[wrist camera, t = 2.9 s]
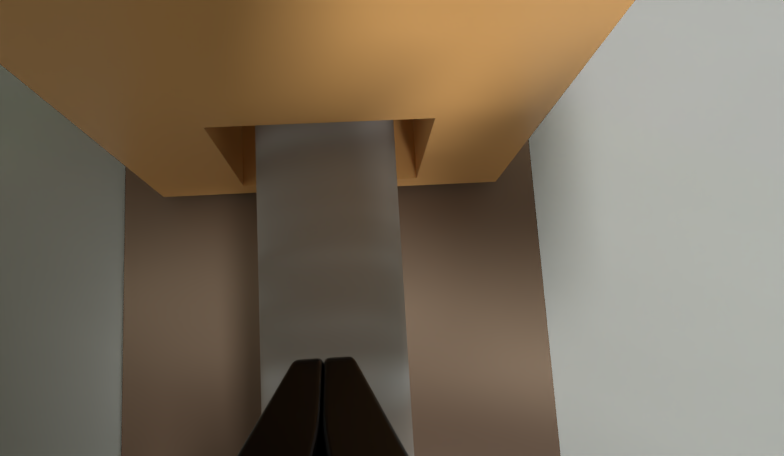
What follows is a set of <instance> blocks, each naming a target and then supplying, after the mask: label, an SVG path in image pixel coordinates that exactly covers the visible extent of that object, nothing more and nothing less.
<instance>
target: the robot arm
mask: <svg viewBox="0 0 784 456" xmlns="http://www.w3.org/2000/svg"><path fill="white" fill-rule="evenodd" d="M237 456H409V455H408V453H407V452H406V450H405V448H404V446H403V444H402V443H401V441H400V439H399V437H398V435H397V434H396V432H395V430H394V428H393V427H392V425H391V423H390V421H389V419H388V418H387V416H386V414H385V412H384V410H383V409H382V407H381V405H380V403H379V401H378V400H377V398H376V396H375V394H374V392H373V391H372V389H371V387H370V385H369V383H368V382H367V380H366V378H365V376H364V375H363V373H362V371H361V369H360V367H359V366H358V364H357V362H356V360H355V359H354V358H353V357H350V356H347V357H330V358H327V359H325V361H324V362H323V361H322V359H320V358H314V359H298V360H295V361H294V362H293V363H292V364H291V366H290V367H289V369H288V371H287V372H286V374H285V376H284V377H283V379H282V381H281V382H280V384H279V386H278V387H277V389H276V391H275V393H274V394H273V396H272V398H271V399H270V401H269V403H268V404H267V406H266V408H265V409H264V411H263V413H262V414H261V416H260V418H259V420H258V421H257V423H256V425H255V426H254V428H253V430H252V431H251V433H250V435H249V436H248V438H247V440H246V441H245V443H244V445H243V447H242V448H241V450H240V452H239V453H238V455H237Z"/></svg>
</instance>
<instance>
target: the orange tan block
mask: <svg viewBox="0 0 784 456" xmlns="http://www.w3.org/2000/svg"><path fill="white" fill-rule="evenodd" d="M634 1H635V0H0V64H1V65H2V66H3V67H4V68H6V69H7V70H8V71H9V72H11V73H12V74H13V75H14V76H15V77H17V78H18V79H19V80H20V81H22V82H23V83H24V84H25V85H26V86H28V87H29V88H30V89H31V90H33V91H34V92H35V93H36V94H38V95H39V96H40V97H41V98H42V99H44V100H45V101H46V102H47V103H49V104H50V105H51V106H52V107H53V108H55V109H56V110H57V111H58V112H60V113H61V114H62V115H63V116H65V117H66V118H67V119H68V120H69V121H71V122H72V123H73V124H74V125H76V126H77V127H78V128H79V129H81V130H82V131H83V132H84V133H85V134H87V135H88V136H89V137H90V138H92V139H93V140H94V141H95V142H96V143H98V144H99V145H100V146H101V147H103V148H104V149H105V150H106V151H108V152H109V153H110V154H111V155H112V156H114V157H115V158H116V159H117V160H119V161H120V162H121V163H122V164H124V165H125V166H126V167H127V168H128V169H130V170H131V171H132V172H133V173H135V174H136V175H137V176H138V177H139V178H141V179H142V180H143V181H144V182H146V183H147V184H148V185H149V186H151V187H152V188H153V189H154V190H155V191H157V192H158V193H159V194H160V195H162V196H163V197H176V196H198V195H219V194H241V193H257V192H256V147H255V126H256V125H280V124H305V123H329V122H354V121H379V120H393V124H394V140H395V156H396V172H397V186H414V185H436V184H457V183H479V182H496V181H497V179H498V178H499V177H500V175H501V174H502V173H503V171H504V170H505V169H506V168H507V166H508V165H509V164H510V162H511V161H512V160H513V158H514V157H515V156H516V155H517V153H518V152H519V151H520V149H521V148H522V147H523V145H524V144H525V143H526V142H527V140H528V139H529V138H530V136H531V135H532V134H533V132H534V131H535V130H536V128H537V127H538V126H539V125H540V123H541V122H542V121H543V119H544V118H545V117H546V115H547V114H548V113H549V112H550V110H551V109H552V108H553V106H554V105H555V104H556V102H557V101H558V100H559V99H560V97H561V96H562V95H563V93H564V92H565V91H566V89H567V88H568V87H569V86H570V84H571V83H572V82H573V80H574V79H575V78H576V76H577V75H578V74H579V73H580V71H581V70H582V69H583V67H584V66H585V65H586V63H587V62H588V61H589V60H590V58H591V57H592V56H593V54H594V53H595V52H596V50H597V49H598V48H599V47H600V45H601V44H602V43H603V41H604V40H605V39H606V37H607V36H608V35H609V33H610V32H611V31H612V30H613V28H614V27H615V26H616V24H617V23H618V22H619V20H620V19H621V18H622V17H623V15H624V14H625V13H626V11H627V10H628V9H629V7H630V6H631V5H632V4H633V2H634Z"/></svg>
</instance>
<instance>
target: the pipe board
mask: <svg viewBox="0 0 784 456" xmlns="http://www.w3.org/2000/svg"><path fill="white" fill-rule="evenodd" d="M255 147H256V192H257V193H241V194H219V195H198V196H176V197H163V196H162V195H160V194H159V193H158V192H157V191H155V190H154V189H153V188H152V187H151V186H149V185H148V184H147V183H146V182H144V181H143V180H142V179H141V178H139V177H138V176H137V175H136V174H135V173H133V172H132V171H131V170H130V169H128V168H127V167H126V175H125V243H124V310H123V378H122V446H121V456H237V455H238V453H239V452H240V450H241V448H242V447H243V445H244V443H245V441H246V440H247V438H248V436H249V435H250V433H251V431H252V430H253V428H254V426H255V425H256V423H257V421H258V420H259V418H260V416H261V414H262V413H263V411H264V409H265V408H266V406H267V404H268V403H269V401H270V399H271V398H272V396H273V394H274V393H275V391H276V389H277V387H278V386H279V384H280V382H281V381H282V379H283V377H284V376H285V374H286V372H287V371H288V369H289V367H290V366H291V364H292V363H293V362H294V361H295V360H298V359H314V358H320V359H322V361H323V362H324V361H325V359H327V358H330V357H347V356H350V357H353V358H354V359H355V360H356V362H357V364H358V366H359V367H360V369H361V371H362V373H363V375H364V376H365V378H366V380H367V382H368V383H369V385H370V387H371V389H372V391H373V392H374V394H375V396H376V398H377V400H378V401H379V403H380V405H381V407H382V409H383V410H384V412H385V414H386V416H387V418H388V419H389V421H390V423H391V425H392V427H393V428H394V430H395V432H396V434H397V435H398V437H399V439H400V441H401V443H402V444H403V446H404V448H405V450H406V452H407V453H408V455H409V456H560V447H559V437H558V427H557V417H556V407H555V397H554V388H553V378H552V368H551V358H550V348H549V338H548V328H547V318H546V308H545V298H544V289H543V279H542V269H541V259H540V249H539V239H538V229H537V219H536V209H535V200H534V190H533V180H532V170H531V160H530V150H529V140H527V142H526V143H525V144H524V145H523V147H522V148H521V149H520V151H519V152H518V153H517V155H516V156H515V157H514V158H513V160H512V161H511V162H510V164H509V165H508V166H507V168H506V169H505V170H504V171H503V173H502V174H501V175H500V177H499V178H498V179H497V181H496V182H479V183H457V184H436V185H414V186H397V172H396V156H395V140H394V124H393V120H379V121H354V122H329V123H305V124H280V125H256V126H255Z"/></svg>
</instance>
